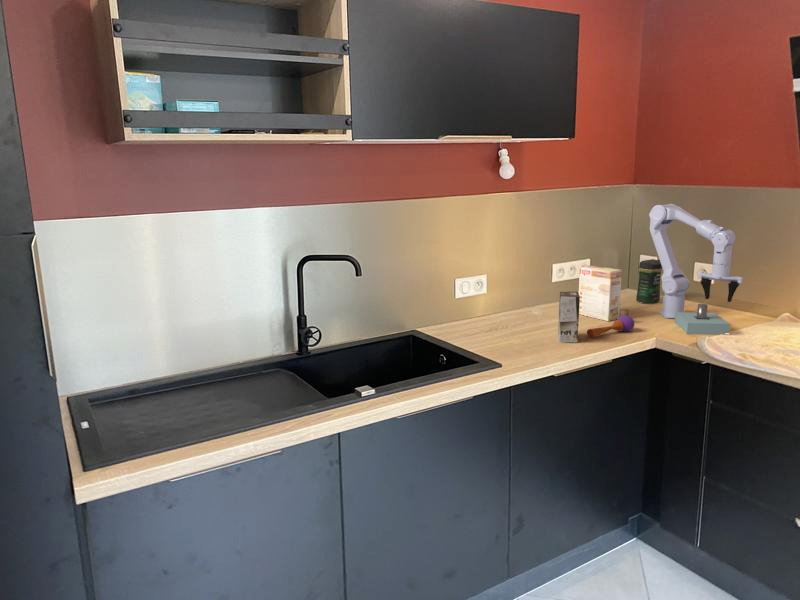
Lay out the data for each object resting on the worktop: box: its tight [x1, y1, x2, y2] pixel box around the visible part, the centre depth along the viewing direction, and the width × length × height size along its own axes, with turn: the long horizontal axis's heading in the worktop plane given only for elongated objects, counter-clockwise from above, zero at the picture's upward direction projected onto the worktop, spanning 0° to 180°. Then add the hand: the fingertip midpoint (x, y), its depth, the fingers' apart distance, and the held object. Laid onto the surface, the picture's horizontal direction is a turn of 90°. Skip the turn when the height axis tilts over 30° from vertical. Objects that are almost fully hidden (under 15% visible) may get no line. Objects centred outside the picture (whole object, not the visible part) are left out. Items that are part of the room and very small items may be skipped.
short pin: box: [619, 308, 630, 318], centre depth 238 cm, size 3×3×5 cm
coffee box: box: [557, 291, 580, 344], centre depth 217 cm, size 9×6×16 cm
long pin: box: [696, 303, 709, 319], centre depth 227 cm, size 3×3×9 cm
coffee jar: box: [635, 258, 663, 304], centre depth 269 cm, size 10×8×19 cm
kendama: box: [586, 315, 635, 339], centre depth 224 cm, size 6×6×20 cm
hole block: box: [674, 311, 731, 336], centre depth 228 cm, size 16×14×4 cm
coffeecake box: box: [578, 265, 623, 322], centre depth 246 cm, size 15×7×20 cm, turn 34°
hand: (718, 300), depth 231 cm, fingers open, 7 cm apart
